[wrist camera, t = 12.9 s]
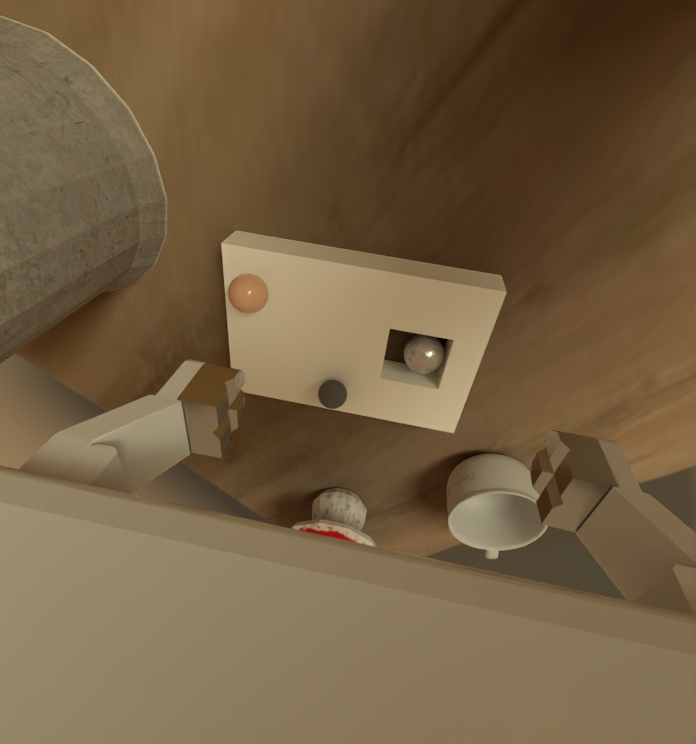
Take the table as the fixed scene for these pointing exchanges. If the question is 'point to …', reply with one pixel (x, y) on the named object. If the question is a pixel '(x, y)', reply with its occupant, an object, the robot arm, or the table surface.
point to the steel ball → (423, 353)
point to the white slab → (357, 327)
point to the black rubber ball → (332, 394)
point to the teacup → (493, 504)
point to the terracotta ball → (248, 293)
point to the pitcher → (67, 187)
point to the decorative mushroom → (337, 517)
